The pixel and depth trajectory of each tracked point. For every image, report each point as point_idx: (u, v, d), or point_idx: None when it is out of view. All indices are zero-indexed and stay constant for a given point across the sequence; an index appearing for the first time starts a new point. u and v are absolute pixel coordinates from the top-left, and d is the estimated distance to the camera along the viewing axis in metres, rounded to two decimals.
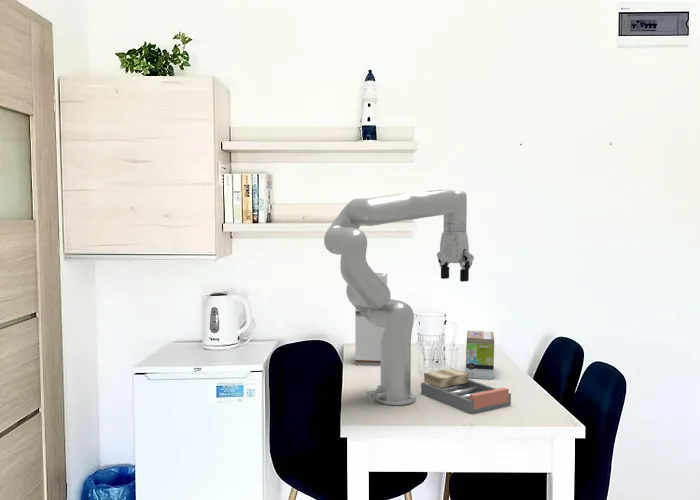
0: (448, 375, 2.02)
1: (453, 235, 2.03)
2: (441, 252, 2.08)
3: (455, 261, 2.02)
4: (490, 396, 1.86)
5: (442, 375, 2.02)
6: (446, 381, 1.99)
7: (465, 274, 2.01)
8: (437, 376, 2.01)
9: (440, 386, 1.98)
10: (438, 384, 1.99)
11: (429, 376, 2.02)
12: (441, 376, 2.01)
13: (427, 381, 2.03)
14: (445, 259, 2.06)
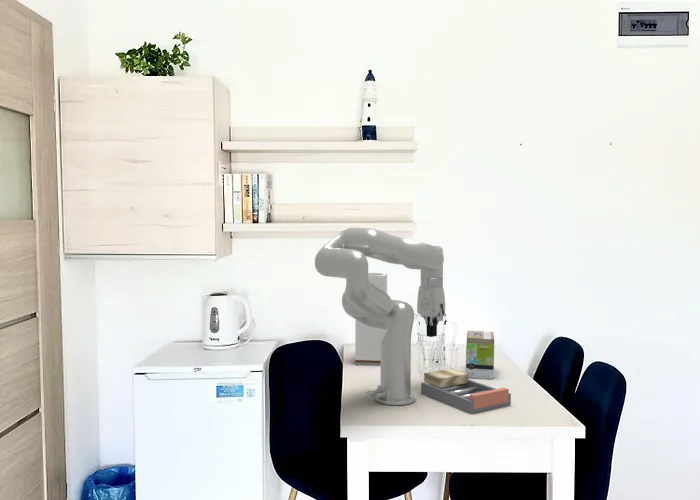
0: (448, 375, 2.02)
1: (429, 290, 2.06)
2: (418, 305, 2.12)
3: (431, 315, 2.06)
4: (490, 396, 1.86)
5: (442, 375, 2.02)
6: (446, 381, 1.99)
7: (433, 330, 2.09)
8: (437, 376, 2.01)
9: (440, 386, 1.98)
10: (438, 384, 1.99)
11: (429, 376, 2.02)
12: (441, 376, 2.01)
13: (427, 381, 2.03)
14: (422, 313, 2.10)
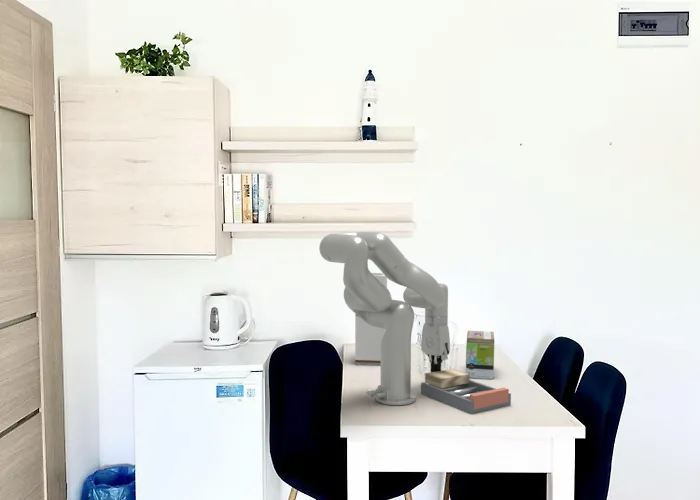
0: (449, 375, 2.02)
1: (434, 328, 2.05)
2: (423, 343, 2.10)
3: (436, 354, 2.04)
4: (490, 396, 1.86)
5: (443, 375, 2.01)
6: (447, 381, 1.99)
7: (437, 368, 2.07)
8: (438, 376, 2.00)
9: (441, 386, 1.98)
10: (439, 385, 1.98)
11: (430, 376, 2.02)
12: (442, 376, 2.00)
13: (428, 381, 2.03)
14: (426, 351, 2.08)
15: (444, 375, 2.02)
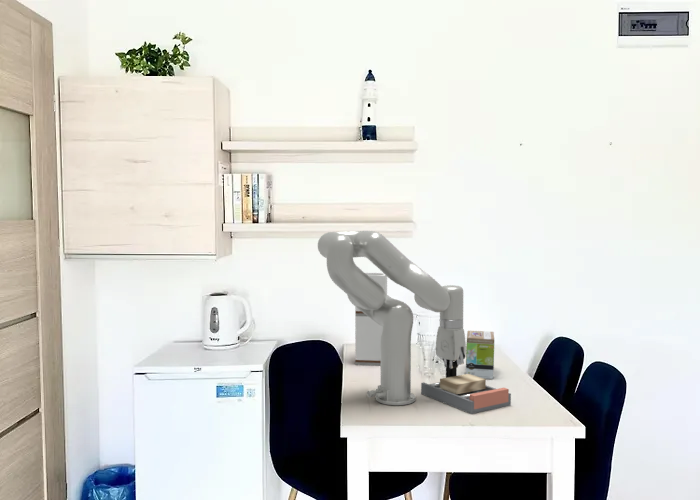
0: (465, 381, 1.95)
1: (449, 332, 1.98)
2: (437, 347, 2.03)
3: (451, 358, 1.98)
4: (490, 396, 1.86)
5: (459, 381, 1.95)
6: (463, 387, 1.92)
7: (453, 373, 2.01)
8: (454, 382, 1.94)
9: (457, 392, 1.91)
10: (454, 390, 1.92)
11: (445, 382, 1.96)
12: (458, 382, 1.94)
13: (443, 387, 1.97)
14: (441, 355, 2.02)
15: (460, 380, 1.95)
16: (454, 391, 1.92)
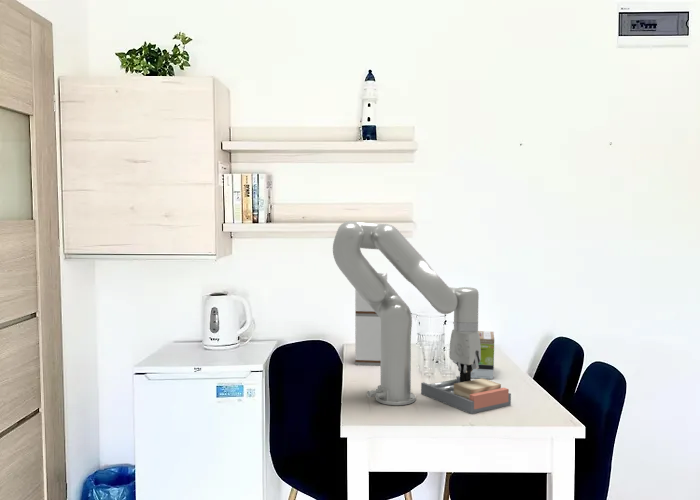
0: (480, 386, 1.89)
1: (464, 335, 1.93)
2: (451, 351, 1.98)
3: (466, 362, 1.92)
4: (490, 396, 1.86)
5: (473, 386, 1.89)
6: (478, 392, 1.87)
7: (467, 378, 1.95)
8: (468, 387, 1.88)
9: None
10: (469, 396, 1.86)
11: (459, 387, 1.90)
12: (472, 387, 1.88)
13: (457, 392, 1.91)
14: (455, 359, 1.96)
15: (474, 385, 1.90)
16: (469, 396, 1.86)
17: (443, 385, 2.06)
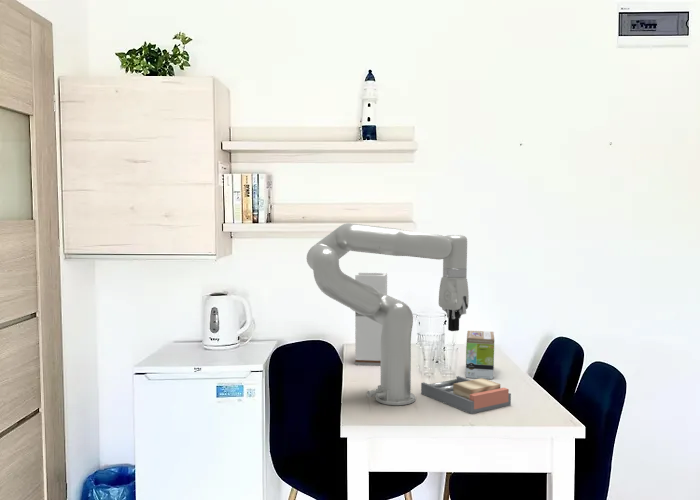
0: (479, 385, 1.90)
1: (452, 281, 1.96)
2: (440, 297, 2.01)
3: (454, 308, 1.95)
4: (490, 396, 1.86)
5: (473, 386, 1.89)
6: (477, 392, 1.87)
7: (455, 324, 1.98)
8: (468, 387, 1.88)
9: None
10: (469, 396, 1.86)
11: (459, 387, 1.90)
12: (472, 387, 1.88)
13: (456, 392, 1.91)
14: (444, 306, 1.99)
15: (474, 385, 1.90)
16: (468, 396, 1.86)
17: (443, 385, 2.06)
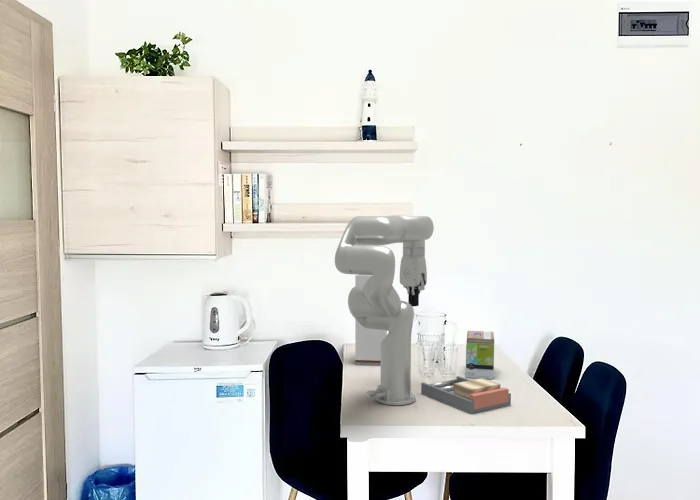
0: (479, 385, 1.90)
1: (411, 259, 2.09)
2: (401, 275, 2.14)
3: (413, 284, 2.09)
4: (490, 396, 1.86)
5: (473, 386, 1.89)
6: (477, 392, 1.87)
7: (415, 299, 2.12)
8: (468, 387, 1.88)
9: None
10: (469, 396, 1.86)
11: (459, 387, 1.90)
12: (472, 387, 1.88)
13: (456, 392, 1.91)
14: (404, 283, 2.13)
15: (474, 385, 1.90)
16: (468, 396, 1.86)
17: (443, 385, 2.06)
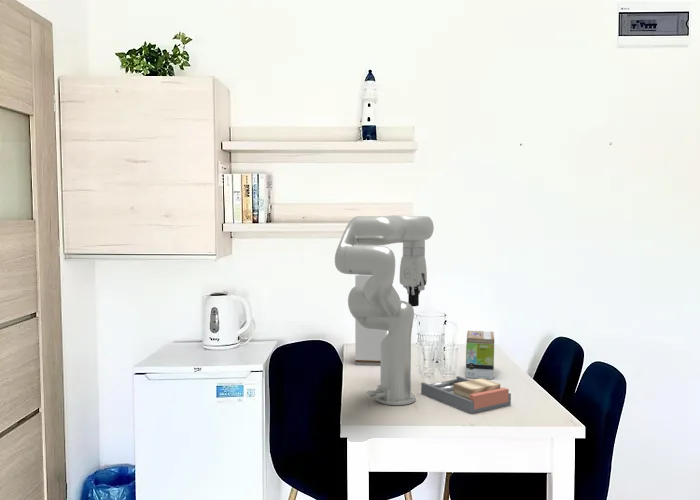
0: (479, 385, 1.90)
1: (411, 259, 2.09)
2: (401, 275, 2.14)
3: (413, 284, 2.09)
4: (490, 396, 1.86)
5: (473, 386, 1.89)
6: (477, 392, 1.87)
7: (415, 299, 2.12)
8: (468, 387, 1.88)
9: None
10: (469, 396, 1.86)
11: (459, 387, 1.90)
12: (472, 387, 1.88)
13: (456, 392, 1.91)
14: (404, 283, 2.13)
15: (474, 385, 1.90)
16: (468, 396, 1.86)
17: (443, 385, 2.06)
